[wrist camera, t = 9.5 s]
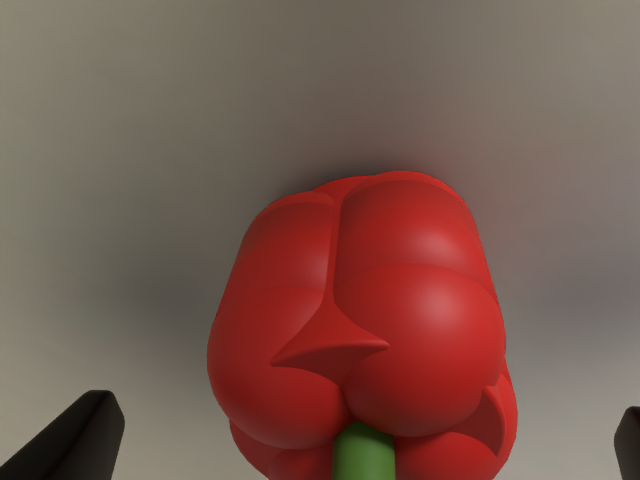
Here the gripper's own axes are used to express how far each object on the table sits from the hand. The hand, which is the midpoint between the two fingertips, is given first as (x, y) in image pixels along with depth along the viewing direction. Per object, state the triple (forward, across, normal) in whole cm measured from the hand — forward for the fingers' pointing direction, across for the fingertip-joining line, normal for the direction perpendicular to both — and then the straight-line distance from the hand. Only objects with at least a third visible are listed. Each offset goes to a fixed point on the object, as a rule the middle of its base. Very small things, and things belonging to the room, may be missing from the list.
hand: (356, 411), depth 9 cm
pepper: (+5, 0, 0) cm, 5 cm away
